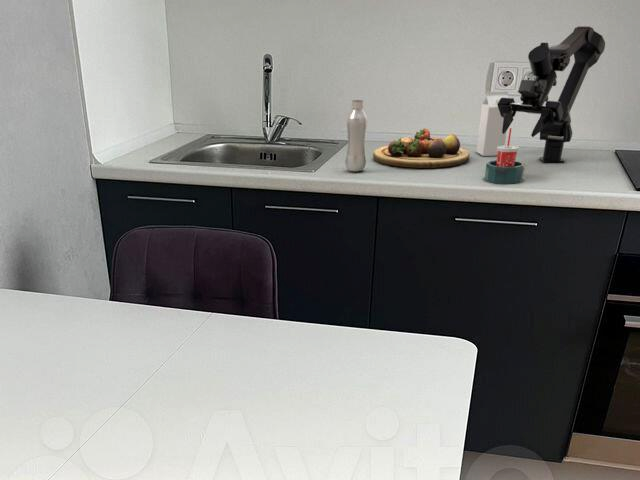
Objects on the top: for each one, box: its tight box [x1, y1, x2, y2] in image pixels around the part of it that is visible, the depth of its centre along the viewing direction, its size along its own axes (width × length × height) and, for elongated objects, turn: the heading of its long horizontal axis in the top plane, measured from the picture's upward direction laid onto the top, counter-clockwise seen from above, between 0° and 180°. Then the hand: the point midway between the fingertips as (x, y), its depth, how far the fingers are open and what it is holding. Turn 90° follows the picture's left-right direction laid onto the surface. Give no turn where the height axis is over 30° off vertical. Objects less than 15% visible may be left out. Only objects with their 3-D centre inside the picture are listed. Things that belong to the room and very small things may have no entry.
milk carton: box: [476, 90, 509, 157], centre depth 244 cm, size 7×7×19 cm
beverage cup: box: [496, 127, 520, 167], centre depth 214 cm, size 6×6×14 cm
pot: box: [484, 159, 526, 185], centre depth 216 cm, size 11×14×4 cm
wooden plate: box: [372, 128, 471, 169], centre depth 242 cm, size 32×32×8 cm
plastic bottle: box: [345, 99, 368, 173], centre depth 226 cm, size 6×7×20 cm
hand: (517, 134), depth 214 cm, fingers open, 9 cm apart
